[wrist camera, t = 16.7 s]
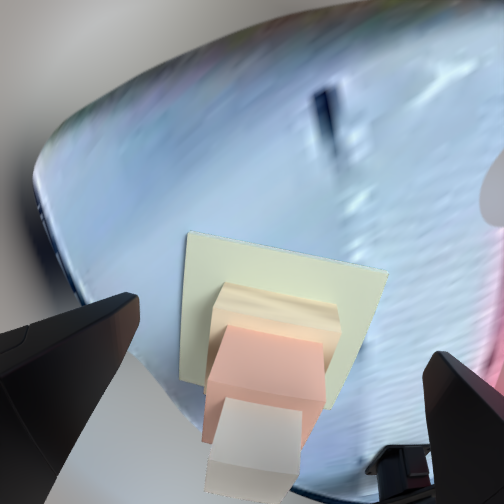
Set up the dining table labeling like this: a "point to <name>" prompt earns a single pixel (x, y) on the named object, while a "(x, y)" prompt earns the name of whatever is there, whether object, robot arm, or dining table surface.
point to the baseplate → (280, 281)
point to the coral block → (266, 376)
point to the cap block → (254, 452)
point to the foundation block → (272, 319)
